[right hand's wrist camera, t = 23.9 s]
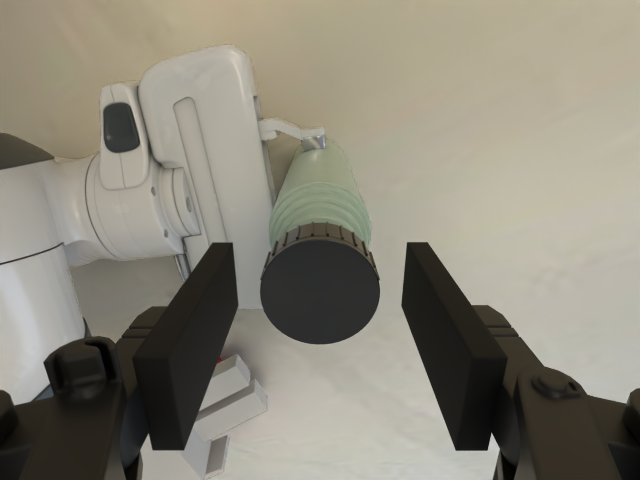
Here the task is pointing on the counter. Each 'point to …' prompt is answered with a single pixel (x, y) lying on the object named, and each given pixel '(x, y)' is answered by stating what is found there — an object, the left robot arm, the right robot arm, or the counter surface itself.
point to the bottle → (320, 194)
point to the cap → (319, 284)
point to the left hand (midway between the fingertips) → (331, 178)
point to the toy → (210, 426)
